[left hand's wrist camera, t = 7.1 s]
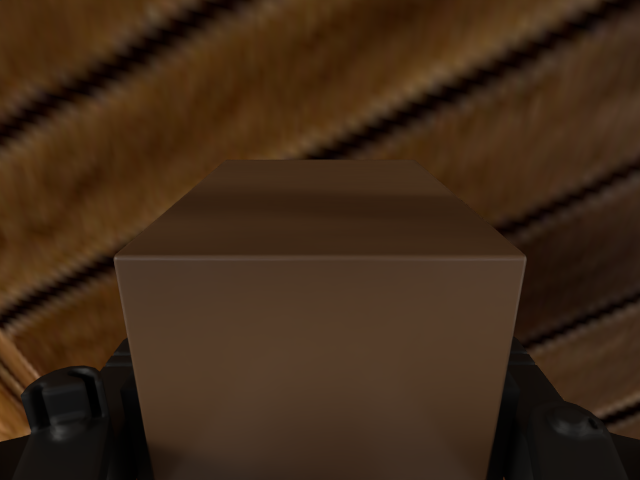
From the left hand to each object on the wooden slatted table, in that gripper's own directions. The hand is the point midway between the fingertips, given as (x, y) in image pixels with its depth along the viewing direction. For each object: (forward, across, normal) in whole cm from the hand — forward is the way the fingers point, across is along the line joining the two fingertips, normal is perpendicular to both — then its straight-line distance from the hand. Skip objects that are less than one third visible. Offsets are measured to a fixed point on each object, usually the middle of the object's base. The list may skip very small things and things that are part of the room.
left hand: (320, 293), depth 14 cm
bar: (0, 0, -8) cm, 8 cm away
